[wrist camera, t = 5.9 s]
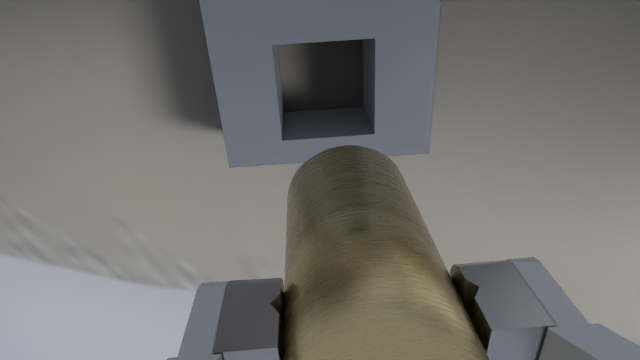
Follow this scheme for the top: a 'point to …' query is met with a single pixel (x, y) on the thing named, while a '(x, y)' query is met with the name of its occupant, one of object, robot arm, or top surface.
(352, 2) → the block
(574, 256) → the top surface
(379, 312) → the pin
